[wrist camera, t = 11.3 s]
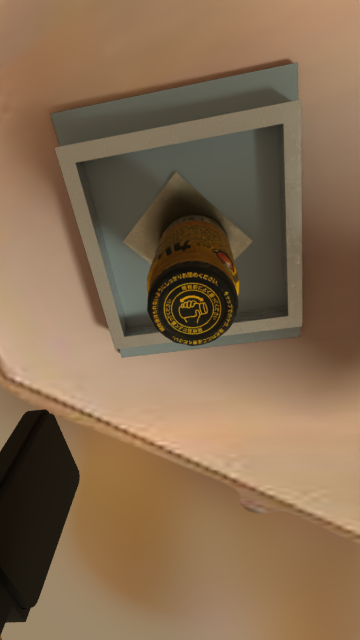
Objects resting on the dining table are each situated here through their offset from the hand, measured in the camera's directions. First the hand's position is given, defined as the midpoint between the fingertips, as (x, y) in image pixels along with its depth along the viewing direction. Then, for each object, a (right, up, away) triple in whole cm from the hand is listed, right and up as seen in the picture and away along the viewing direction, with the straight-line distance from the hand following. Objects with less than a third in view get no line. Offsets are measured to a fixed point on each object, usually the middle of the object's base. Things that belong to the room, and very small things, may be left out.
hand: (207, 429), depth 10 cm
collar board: (0, +10, +20) cm, 22 cm away
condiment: (0, +10, +19) cm, 22 cm away
